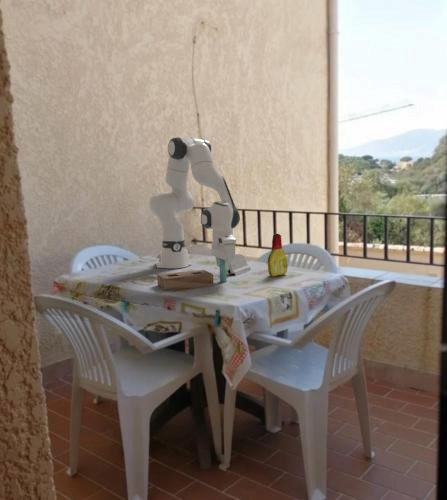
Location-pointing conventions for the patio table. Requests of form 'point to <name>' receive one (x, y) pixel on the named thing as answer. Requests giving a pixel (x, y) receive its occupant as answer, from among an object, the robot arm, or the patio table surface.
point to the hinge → (238, 265)
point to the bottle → (277, 258)
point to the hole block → (185, 280)
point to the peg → (222, 271)
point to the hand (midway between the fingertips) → (222, 268)
